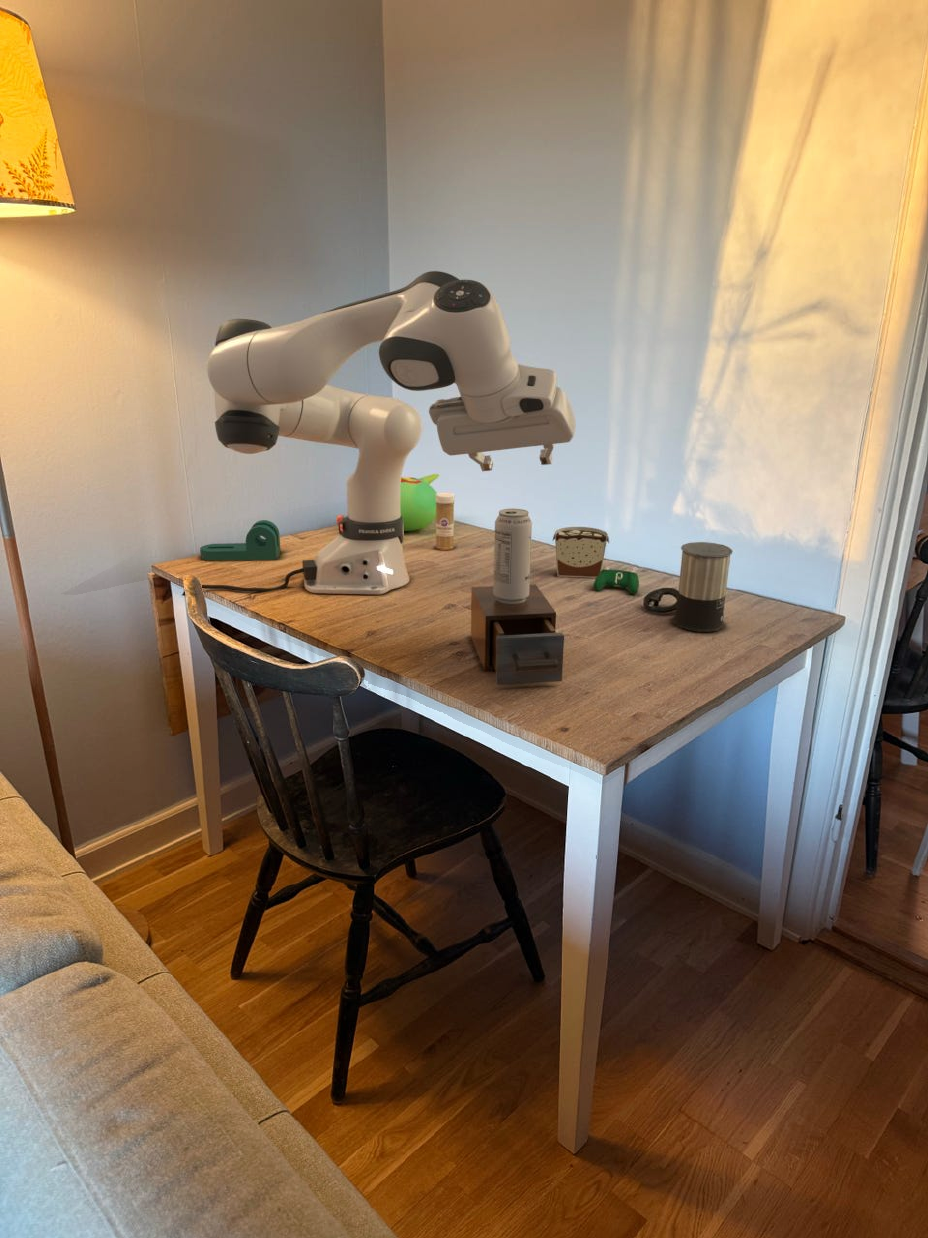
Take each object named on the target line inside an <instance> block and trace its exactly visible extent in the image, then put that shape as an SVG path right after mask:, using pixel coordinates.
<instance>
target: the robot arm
mask: <svg viewBox="0 0 928 1238" xmlns="http://www.w3.org/2000/svg"><path fill="white" fill-rule="evenodd" d="M378 342H380V344H379V349H378V358H379V362H380V364H381V366H382V369H383V370H384V372H385V374H386V375H387V377H388V378H389V379H391V381H393V382H394V383H395V384H397V385H398V386H399V387H401V388H403V389H405V390H408V391H414V392H423V391H430V390H438V389H442V388H446V387H450V386H451V385H453V384H456V386H457V389H458V392H459V395H460V396H456V397H451V398H447V399H445V398H443V399H437V400H435V402H434V403H432V404H431V405H430V406H429V408H428V414H429V416H430V419H431V422H432V423H433V424H434V425H435V426H436V432H437V436H438V440H439V444H440V447H441V450H442V451H443V452H444V453H445V454H447V455H448V456H459V455H468V457H469V458H470V459H471V460H472V461H473V462H475V463H476V464H477V465H479V467H480V469H481V471H482V472H490V471H492V470H493V467H494V462H493V460H492V455H490V454H489V455H486V454H485V452H494V451H504V450H514V449H521V448H529V447H530V448H531V447H539V446H543V447H542V448H543V449H540V453H539V461H540V465H541V466H546V465H552V464H553V455H552V452H553V450H554V446H555V445H556V444H557V445H558V444H567V443H570V442H571V441H572V440H573V438H574V437H575V433H576V418H575V415H574V411H573V408H572V406H571V403H570V401H569V398H568V396H567V394H566V393H565V391H564V390H563V389H562V388H560V387H559V386H557V385H558V384H557V381H558V380H557V374H556V372H555V371H554V369H553V370H552V369H549V368H543V367H535V366H528V365H524V364H519V363H518V361H517V360H516V358H515V356H514V355H513V353H512V351H511V344H512V342H511V337H510V333H509V331H508V328H507V324H506V322H505V319H504V317H503V313H502V311H501V309H500V306H499V304H498V301H497V300H496V298H495V297H494V295H493V293H492V292H491V291H490V290H489V288H488V287H487V286H486V285H484V284H483V283H482V282H479V281H477V280H474V279H459V278H458V277H456V276H454V275H453V274H451V273H448V272H445V271H439V270H431V271H427V272H424V273H422V274H420V275H419V276H417V277H416V278H414V280H412V281H411V282H410V283H408V284H407V285H406V286H403V287H402V288H399V289H396V290H393V291H389V292H385V293H382V294H378V295H374V296H371V297H368V298H364V299H361V300H357V301H353V302H349V303H346V304H343V305H341V306H337V307H334V308H332V309H329V310H327V311H324V312H321V313H319V314H316V315H313V316H311V317H307V318H305V319H301V320H297V321H295V322H292V323H288V324H284V325H280V326H275V327H272V326H271V325H270V324H268V323H266V322H264V321H261V320H258V319H254V318H247V317H240V318H232V319H228V320H227V321H225V322H224V323H222V324H221V325H220V326H219V328H218V330H217V334H216V338H215V343H214V345H215V347H214V348H213V349H212V350H211V352H210V354H209V355H208V359H207V363H206V371H207V372H206V373H207V378H208V381H209V383H210V386H211V387H212V389H213V391H214V392H213V393H214V394H213V395H214V410H215V411H214V412H215V419H216V420H215V421H214V427H215V433H216V437H217V439H218V441H219V443H221V444H222V445H223V446H224V448H227V449H230V450H232V451H234V452H238V453H241V454H246V455H253V454H259V453H261V452H262V453H263V452H265V451H266V452H267V451H270V450H271V449H272V448H273V447H275V446H276V444H277V441H278V439H279V437H284V438H290V439H296V440H302V441H307V442H314V443H320V444H328V445H335V446H343V447H348V448H353V449H358V458H357V462H356V466H355V469H354V471H353V472H352V473H351V474H350V475H349V476H348V478H347V480H346V504H347V516H345V515H343V514H340V515H337V517H336V519H335V521H336V525H337V526H338V535H337V536H336V537H334V538H333V539H332V540H330V541H329V542H328V543H327V544H326V545H324V546H323V547H322V548H321V549H319V550H318V552H317V554H316V555H315V559H305V560H304V559H303V560H301V563H302V564H301V565H302V567H301V568H298V569H295V570H292V571H290V572H289V573H287V574H286V575H285V578H284V583H282V584H281V585H279V586H276V587H270V588H269V587H268V588H267V587H240V586H235V585H229V584H228V585H227V584H201V585H202V588H203V589H205V590H230V591H235V592H236V591H237V592H243V593H247V592H249V593H251V592H252V593H254V592H256V593H267V592H273V591H278V590H282V589H283V590H284V589H285V588H287V587H288V586H289V583H290V578H292V577H293V576H294V575H298V574H301V573H302V574H303V577H304V579H303V587H304V589H305V590H306V591H308V592H309V593H311V594H332V595H333V594H334V595H335V594H337V595H339V594H340V595H383V594H385V593H387V592H389V591H391V590H394V589H398V588H402V587H404V586H406V585H407V584H408V583H409V582H410V581H411V580H410V579H411V578H410V576H409V572H408V570H407V566H406V565H407V564H406V560H405V554H404V549H403V548H404V547H403V544H404V543H403V542H404V538H405V533H404V532H405V531H404V525H403V518H402V516H401V512H400V486H401V477H403V472H404V467H405V465H406V462H407V459H408V456H409V454H410V453H411V452H412V451H413V450H414V449H415V448H416V447H417V445H418V444H419V442H420V440H421V439H422V438H421V437H422V435H423V421H422V418H421V416H420V413H419V412H418V410H417V409H416V408H415V407H414V406H412V405H410V404H408V403H407V402H405V401H403V400H400V399H399V398H395V397H388V396H383V395H375V394H368V393H362V392H356V391H351V390H348V389H343V388H339V387H337V386H333V385H330V384H329V382H330V381H331V380H332V378H333V377H334V376H335V375H336V374H337V373H338V371H339V370H340V369H341V368H342V367H343V366H344V365H345V364H346V363H347V362H348V361H349V360H350V359H351V358H352V357H353V356H354V355H355V354H356V353H358V352H359V351H360V350H362V349H364V348H365V347H367V346H369V345H372V344H374V343H378ZM181 596H186V595H185V591H183V593H181Z"/></svg>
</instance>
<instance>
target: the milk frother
mask: <svg viewBox="0 0 928 1238" xmlns="http://www.w3.org/2000/svg"><path fill="white" fill-rule="evenodd" d="M680 550H681V551H682V552H681V560H680V561H681V562H680V572H679V582H678V589H676V588H673V587H661V588H656V589H654V590H652V591H650V592H648V593H647V594H646V595H645V596H644V598H643V606H644V608H645V609H647V610H648V611H650V612H654V613H659V614H668V613H672V612H675V615H674V617H673V618H672V619H673V620H672V621H673V623H674V624H675V625H676V626H677V627H679V628H680V629H685V630H687V631H690V632H691V631H693V632H699V633H700V632H701V633H711V632H717V631H720V630H721V629H723V627H724V626H725V623H724V617H725V614H724V613H725V605H726V604H725V603H726V594H727V585H728V578H729V570H730V563H731V555H732V554H733V549H732V548H731V547H729V546H727V545H724V544H721V543H715V542H709V541H707V542H706V541H696V542H695V541H693V542H688V543H684V544H682V545H681V546H680ZM667 595H668V596H672V597H673V598H675V600H676V602H674V603H673V604H671V605H669V606H659V605H660V602H661V601H662V598H663V596H667Z"/></svg>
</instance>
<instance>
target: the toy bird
mask: <svg viewBox="0 0 928 1238" xmlns="http://www.w3.org/2000/svg"><path fill="white" fill-rule="evenodd" d="M439 477H440V474H439V473H434V474H428V475H426V476H422V477H419V478H417V477H406V476H402V477H401V486H400V512H401V516H402V518H403V525H404V532H413V531H418V530H422V529H425V528H426V527H429V526H430V525H431V524H432V523H433V522H434V521H436V494H437V493H438V492H437V491H436V490H435V488H434V487H433V486H431V484H432V483H433V482H435V480H437V479H438V478H439Z"/></svg>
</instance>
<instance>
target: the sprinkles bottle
mask: <svg viewBox="0 0 928 1238" xmlns="http://www.w3.org/2000/svg"><path fill="white" fill-rule="evenodd" d="M436 493H437V494H436V518H435V540H436V541H435V548H436V549H437V550H441V551H448V550H452V549H454V547H455V545H454V544H455V542H454V537H455V536H454V535H455V512H454V511H455V508H454V507H455V494H454V493H452V492H436Z"/></svg>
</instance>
